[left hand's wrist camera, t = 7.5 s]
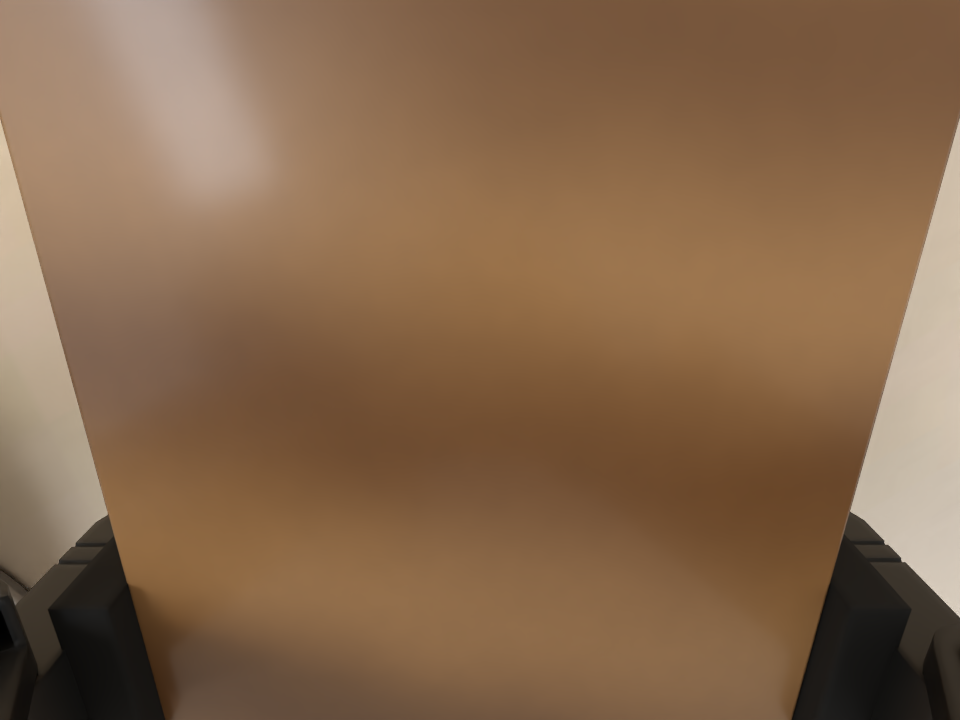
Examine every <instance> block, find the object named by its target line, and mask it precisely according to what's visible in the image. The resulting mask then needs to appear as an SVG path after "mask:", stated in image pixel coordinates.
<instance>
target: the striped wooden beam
mask: <svg viewBox="0 0 960 720" xmlns="http://www.w3.org/2000/svg"><path fill="white" fill-rule="evenodd" d="M959 118H960V0H0V119H1V123H2V127H3V130H4V134H5V138H6V141H7V145H8V149H9V152H10V156H11V160H12V163H13V167H14V171H15V174H16V178H17V181H18V185H19V189H20V192H21V196H22V200H23V203H24V207H25V211H26V214H27V218H28V222H29V225H30V229H31V233H32V236H33V240H34V244H35V247H36V251H37V255H38V258H39V262H40V266H41V269H42V273H43V277H44V280H45V284H46V288H47V291H48V295H49V299H50V302H51V306H52V310H53V313H54V317H55V321H56V324H57V328H58V332H59V335H60V339H61V343H62V346H63V350H64V354H65V357H66V361H67V365H68V368H69V372H70V376H71V379H72V383H73V387H74V390H75V394H76V398H77V401H78V405H79V409H80V412H81V416H82V420H83V423H84V427H85V431H86V434H87V438H88V442H89V445H90V449H91V453H92V456H93V460H94V464H95V467H96V471H97V475H98V478H99V482H100V486H101V489H102V493H103V497H104V500H105V504H106V508H107V511H108V515H109V519H110V522H111V526H112V530H113V533H114V537H115V541H116V544H117V548H118V552H119V555H120V559H121V563H122V566H123V570H124V574H125V577H126V581H127V583H128V586H129V590H130V593H131V597H132V600H133V604H134V608H135V611H136V615H137V619H138V622H139V626H140V630H141V633H142V637H143V640H144V644H145V648H146V651H147V655H148V659H149V662H150V666H151V670H152V673H153V677H154V680H155V684H156V688H157V691H158V695H159V699H160V702H161V706H162V709H163V713H164V717H165V720H792V717H793V714H794V710H795V706H796V703H797V699H798V696H799V692H800V688H801V685H802V681H803V678H804V674H805V671H806V667H807V663H808V660H809V656H810V653H811V649H812V645H813V642H814V638H815V635H816V631H817V627H818V624H819V620H820V617H821V613H822V610H823V606H824V602H825V599H826V595H827V592H828V588H829V584H830V581H831V577H832V574H833V570H834V566H835V563H836V559H837V556H838V552H839V549H840V545H841V541H842V538H843V534H844V531H845V527H846V523H847V520H848V516H849V513H850V509H851V506H852V502H853V498H854V495H855V491H856V488H857V484H858V480H859V477H860V473H861V470H862V466H863V462H864V459H865V455H866V452H867V448H868V445H869V441H870V437H871V434H872V430H873V427H874V423H875V419H876V416H877V412H878V409H879V405H880V401H881V398H882V394H883V391H884V387H885V384H886V380H887V376H888V373H889V369H890V366H891V362H892V358H893V355H894V351H895V348H896V344H897V341H898V337H899V333H900V330H901V326H902V323H903V319H904V315H905V312H906V308H907V305H908V301H909V297H910V294H911V290H912V287H913V283H914V280H915V276H916V272H917V269H918V265H919V262H920V258H921V254H922V251H923V247H924V244H925V240H926V236H927V233H928V229H929V226H930V222H931V219H932V215H933V211H934V208H935V204H936V201H937V197H938V193H939V190H940V186H941V183H942V179H943V175H944V172H945V168H946V165H947V161H948V158H949V154H950V150H951V147H952V143H953V140H954V136H955V132H956V129H957V125H958V122H959Z"/></svg>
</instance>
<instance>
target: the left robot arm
mask: <svg viewBox="0 0 960 720" xmlns="http://www.w3.org/2000/svg"><path fill="white" fill-rule="evenodd" d="M0 720H165V717H164V713H163V709H162V706H161V702H160V699H159V695H158V691H157V688H156V684H155V680H154V677H153V673H152V670H151V666H150V662H149V659H148V655H147V651H146V648H145V644H144V640H143V637H142V633H141V630H140V626H139V622H138V619H137V615H136V611H135V608H134V604H133V600H132V597H131V593H130V590H129V586H128V583H127V581H126V577H125V574H124V570H123V566H122V563H121V559H120V555H119V552H118V548H117V544H116V541H115V537H114V533H113V530H112V526H111V522H110V519H109V515H107V516H106V517H104V518H102V519H101V520H99V521H97V522H96V523H95V524H94V525H93V526H92V527H91V528H90V529H89V530H88V531H87V532H86V533H85V534H84V535H83V536H82V537H81V538H80V539H79V540H78V541H77V542H76V546H75V547H71V548H70V549H69V551H68V552H67V553H66V554H65V555H64V556H63V557H62V558H61V559H60V560H59V564H58V565H54V566H53V567H52V568H51V569H50V570H49V571H48V572H47V573H46V574H45V575H44V576H43V577H42V578H41V579H40V580H39V581H38V582H37V583H36V584H35V585H34V586H33V587H32V588H31V589H30V590H29V592H27V591H26V590H25V589H24V588H23V587H22V586H21V585H20V584H18V583H17V582H16V581H15V580H13V579H12V578H11V577H10V576H8V575H7V574H5V573H4V572H2V571H1V570H0ZM792 720H960V618H959V616H958V615H957V614H956V613H955V612H954V611H953V610H952V609H951V608H950V607H949V606H948V605H947V604H946V603H945V602H944V601H943V600H942V599H941V598H940V597H939V596H938V595H937V594H936V593H935V592H934V591H933V590H932V589H931V588H930V587H929V586H928V585H927V584H926V583H925V582H924V581H923V580H922V579H921V578H920V577H919V576H918V575H917V574H916V573H915V572H914V571H913V570H912V569H911V568H910V567H909V566H908V565H907V564H906V562H902V561H901V557H900V556H899V555H898V554H897V553H896V552H895V551H894V550H893V549H892V548H891V547H890V546H889V545H885V544H884V540H883V539H882V538H881V537H880V536H879V535H878V534H877V533H876V532H875V531H874V530H873V529H872V528H871V527H870V526H869V525H868V524H867V523H866V522H865V521H864V520H863V519H861V518H859V517H858V516H856V515H855V514H853V513H851V512H850V513H849V516H848V520H847V523H846V527H845V531H844V534H843V538H842V541H841V545H840V549H839V552H838V556H837V559H836V563H835V566H834V570H833V574H832V577H831V581H830V584H829V588H828V592H827V595H826V599H825V602H824V606H823V610H822V613H821V617H820V620H819V624H818V627H817V631H816V635H815V638H814V642H813V645H812V649H811V653H810V656H809V660H808V663H807V667H806V671H805V674H804V678H803V681H802V685H801V688H800V692H799V696H798V699H797V703H796V706H795V710H794V714H793V717H792Z"/></svg>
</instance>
